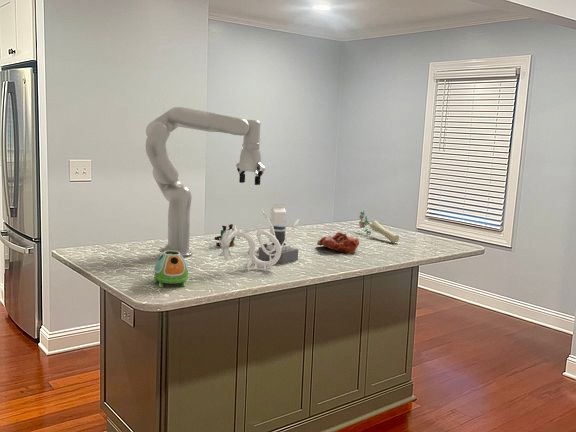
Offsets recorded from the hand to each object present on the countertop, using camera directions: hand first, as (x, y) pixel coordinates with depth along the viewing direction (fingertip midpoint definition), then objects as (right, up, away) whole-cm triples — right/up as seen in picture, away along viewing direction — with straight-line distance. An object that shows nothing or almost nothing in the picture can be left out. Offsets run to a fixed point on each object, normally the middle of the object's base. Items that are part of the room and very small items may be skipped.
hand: (249, 183), depth 265 cm
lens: (+14, -30, -10) cm, 34 cm away
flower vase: (+67, -27, +52) cm, 89 cm away
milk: (+12, -32, +10) cm, 35 cm away
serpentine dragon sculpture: (+5, -37, -24) cm, 44 cm away
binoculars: (-14, -30, +14) cm, 35 cm away
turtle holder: (-26, -40, -53) cm, 72 cm away
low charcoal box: (+13, -35, -10) cm, 38 cm away
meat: (+42, -32, +17) cm, 56 cm away
